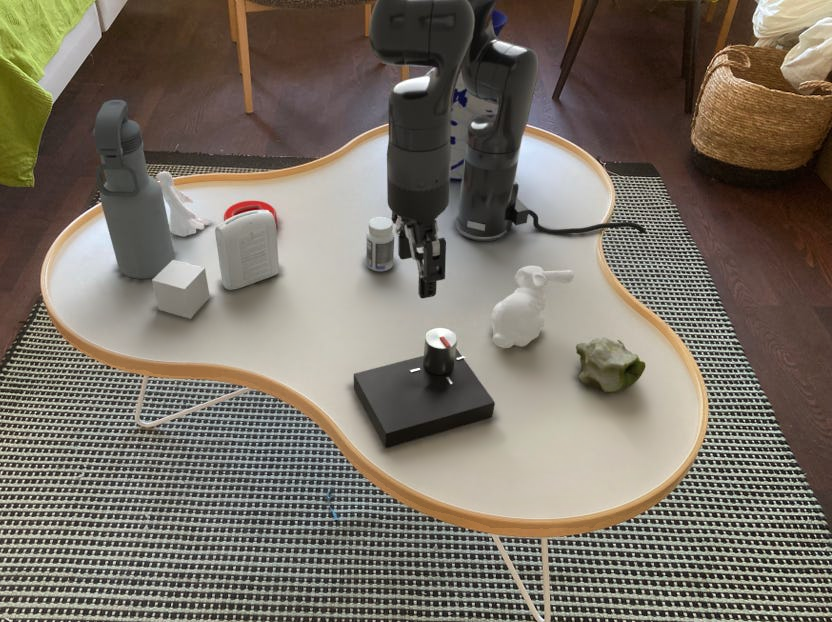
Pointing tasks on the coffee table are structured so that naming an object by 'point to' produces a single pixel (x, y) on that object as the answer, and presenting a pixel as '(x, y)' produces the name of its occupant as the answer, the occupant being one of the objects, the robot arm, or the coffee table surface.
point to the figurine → (179, 208)
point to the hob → (421, 399)
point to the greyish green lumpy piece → (608, 365)
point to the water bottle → (130, 195)
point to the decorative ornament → (249, 209)
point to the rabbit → (524, 307)
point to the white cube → (181, 288)
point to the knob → (439, 351)
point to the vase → (467, 111)
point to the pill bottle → (380, 244)
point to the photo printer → (247, 248)
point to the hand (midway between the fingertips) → (416, 275)
